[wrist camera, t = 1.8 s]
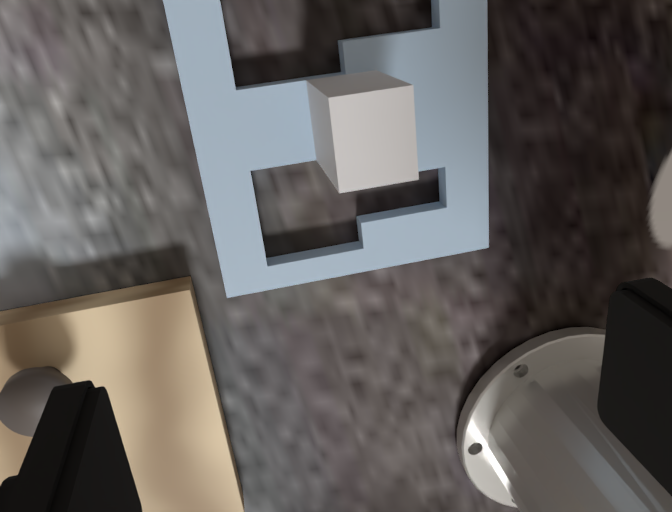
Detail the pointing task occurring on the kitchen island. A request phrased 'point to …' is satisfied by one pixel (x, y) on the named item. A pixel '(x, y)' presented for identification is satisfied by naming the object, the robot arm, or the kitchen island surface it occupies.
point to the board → (127, 388)
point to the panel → (287, 142)
